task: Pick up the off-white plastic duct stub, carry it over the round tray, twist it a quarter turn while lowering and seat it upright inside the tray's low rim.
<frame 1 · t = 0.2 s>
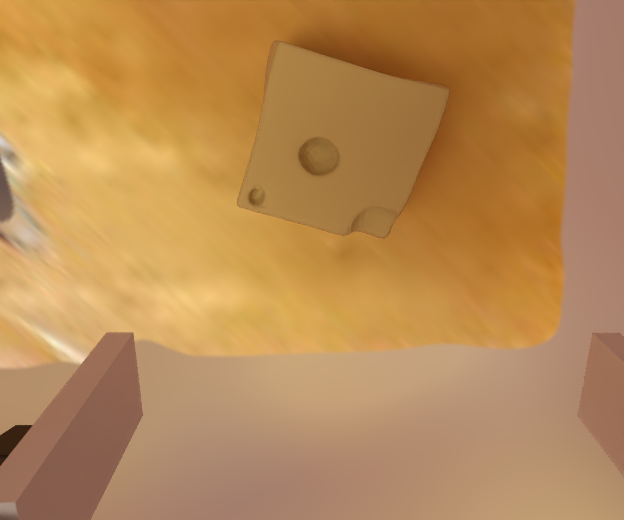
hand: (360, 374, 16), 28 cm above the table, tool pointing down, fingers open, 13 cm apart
cheese: (331, 132, 41), on the table
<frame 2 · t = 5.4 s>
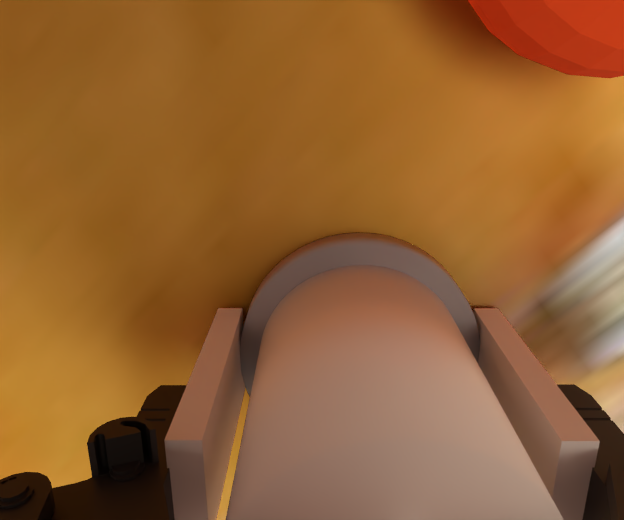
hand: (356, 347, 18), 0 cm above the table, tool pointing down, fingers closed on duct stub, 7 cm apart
duct stub: (356, 340, 18), on the table, touching gripper
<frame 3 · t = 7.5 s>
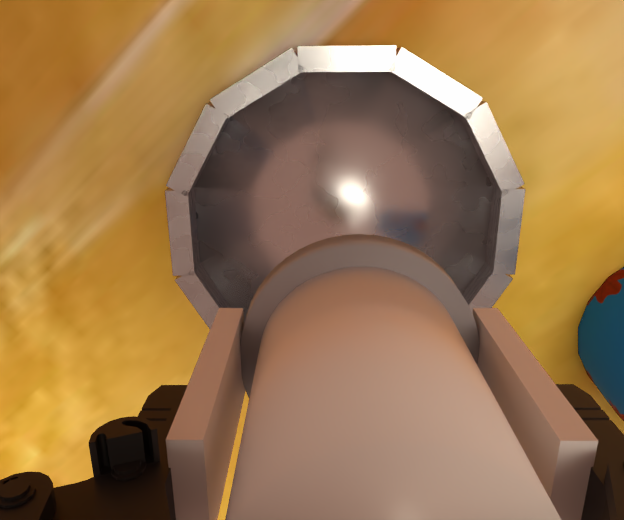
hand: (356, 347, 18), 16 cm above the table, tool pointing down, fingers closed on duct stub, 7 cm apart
duct stub: (356, 342, 18), point 15 cm above the table, touching gripper
round tray: (342, 221, 32), on the table
when the fingers open (2 cm above the table, at t = 9.9 s): duct stub drops 1 cm, resting on round tray.
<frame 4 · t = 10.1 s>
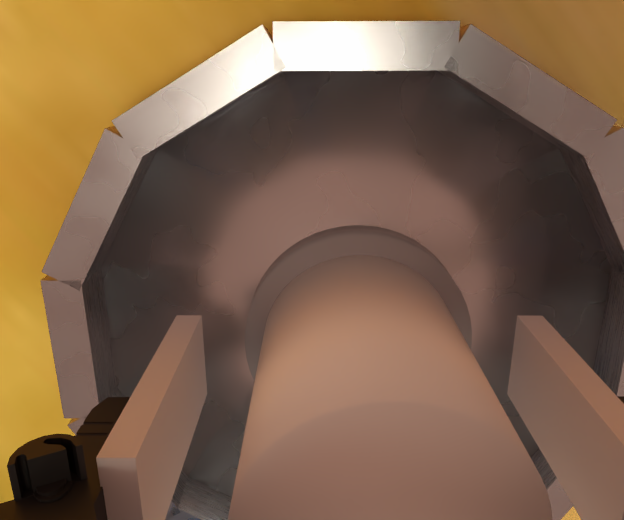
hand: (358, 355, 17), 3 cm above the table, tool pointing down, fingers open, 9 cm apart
duct stub: (355, 328, 19), point 1 cm above the table, touching round tray
round tray: (352, 319, 20), on the table
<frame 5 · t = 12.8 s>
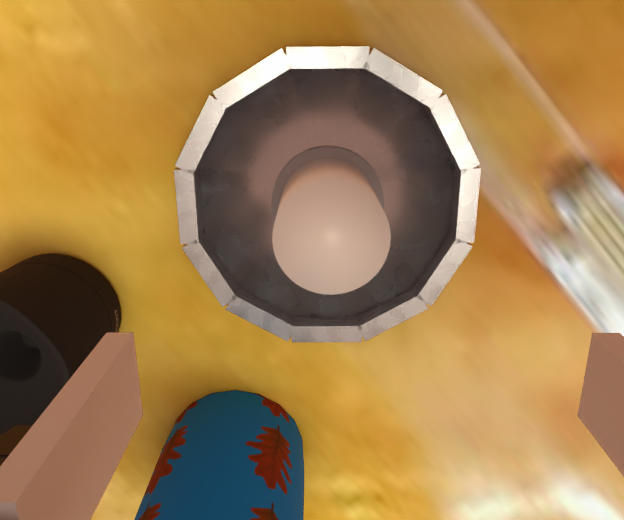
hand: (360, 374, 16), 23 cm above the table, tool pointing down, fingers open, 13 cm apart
pen holder: (64, 307, 40), on the table
duct stub: (327, 200, 37), point 1 cm above the table, touching round tray
round tray: (326, 198, 38), on the table
thermos: (237, 446, 44), on the table
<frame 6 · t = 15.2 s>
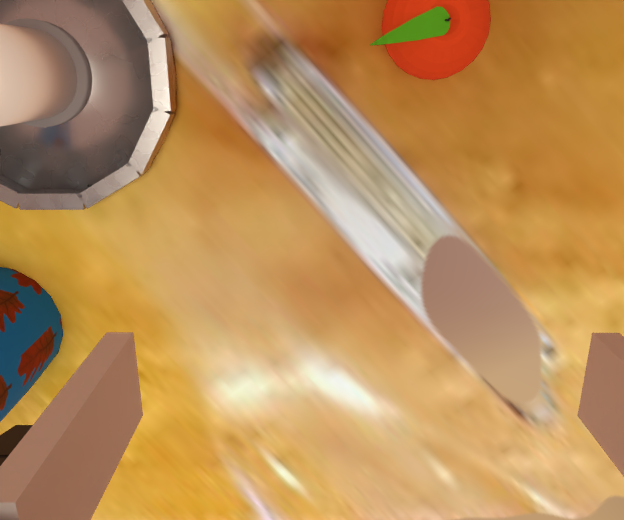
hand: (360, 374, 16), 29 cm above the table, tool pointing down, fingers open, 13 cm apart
duct stub: (41, 74, 40), point 1 cm above the table, touching round tray
round tray: (46, 75, 41), on the table
thermos: (2, 322, 48), on the table
clementine: (417, 30, 40), on the table
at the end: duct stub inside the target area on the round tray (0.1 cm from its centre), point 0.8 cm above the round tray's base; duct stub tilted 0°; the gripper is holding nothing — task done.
